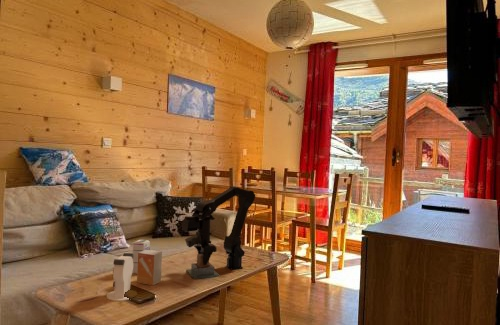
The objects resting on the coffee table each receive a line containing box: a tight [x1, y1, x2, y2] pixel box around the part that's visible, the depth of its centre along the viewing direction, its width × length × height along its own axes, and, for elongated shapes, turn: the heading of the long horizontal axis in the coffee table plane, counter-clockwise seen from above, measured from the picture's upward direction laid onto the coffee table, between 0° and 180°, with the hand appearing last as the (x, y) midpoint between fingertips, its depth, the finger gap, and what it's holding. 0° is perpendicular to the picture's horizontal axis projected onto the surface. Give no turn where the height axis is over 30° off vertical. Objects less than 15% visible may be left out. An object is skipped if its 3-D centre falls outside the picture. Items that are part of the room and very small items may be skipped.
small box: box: [136, 249, 163, 286], centre depth 156 cm, size 8×6×13 cm
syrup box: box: [132, 239, 151, 274], centre depth 169 cm, size 6×6×14 cm
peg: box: [196, 253, 210, 268], centre depth 170 cm, size 4×4×8 cm
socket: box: [186, 262, 220, 280], centre depth 170 cm, size 12×12×4 cm
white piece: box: [106, 252, 134, 302], centre depth 141 cm, size 12×11×15 cm
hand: (202, 263), depth 170 cm, fingers open, 6 cm apart
